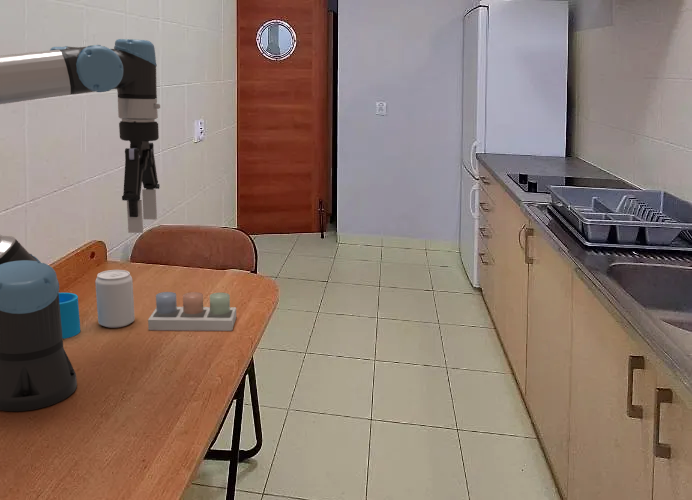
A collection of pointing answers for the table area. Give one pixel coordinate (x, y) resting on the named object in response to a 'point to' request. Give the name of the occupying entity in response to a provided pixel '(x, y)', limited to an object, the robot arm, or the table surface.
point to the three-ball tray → (193, 320)
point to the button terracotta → (193, 303)
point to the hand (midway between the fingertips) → (143, 225)
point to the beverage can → (115, 298)
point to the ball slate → (166, 302)
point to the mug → (69, 314)
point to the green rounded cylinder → (219, 303)
